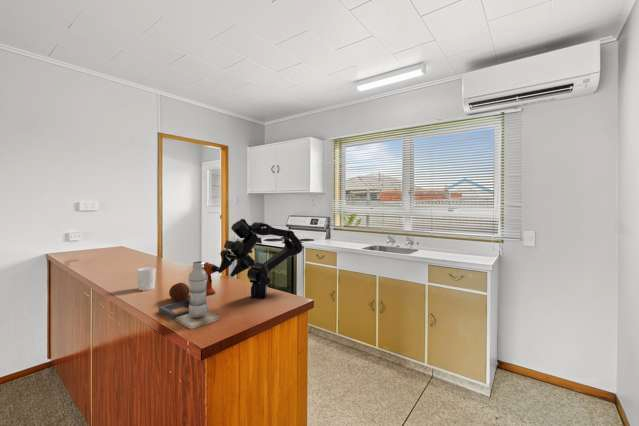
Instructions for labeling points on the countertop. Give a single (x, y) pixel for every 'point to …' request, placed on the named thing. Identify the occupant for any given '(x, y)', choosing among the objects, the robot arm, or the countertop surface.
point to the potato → (179, 292)
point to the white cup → (146, 278)
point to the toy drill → (209, 270)
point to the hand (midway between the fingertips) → (224, 274)
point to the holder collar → (167, 308)
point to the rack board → (196, 320)
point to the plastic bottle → (198, 291)
